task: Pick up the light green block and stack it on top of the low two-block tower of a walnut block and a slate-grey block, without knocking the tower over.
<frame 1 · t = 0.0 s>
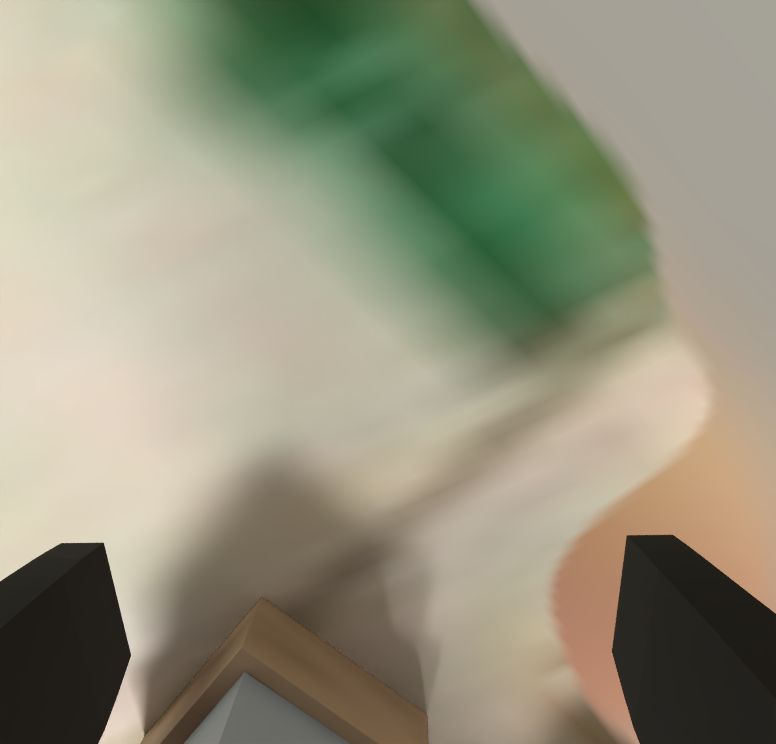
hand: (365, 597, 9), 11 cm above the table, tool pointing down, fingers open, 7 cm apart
walnut base block: (286, 718, 22), on the table, touching slate-grey block
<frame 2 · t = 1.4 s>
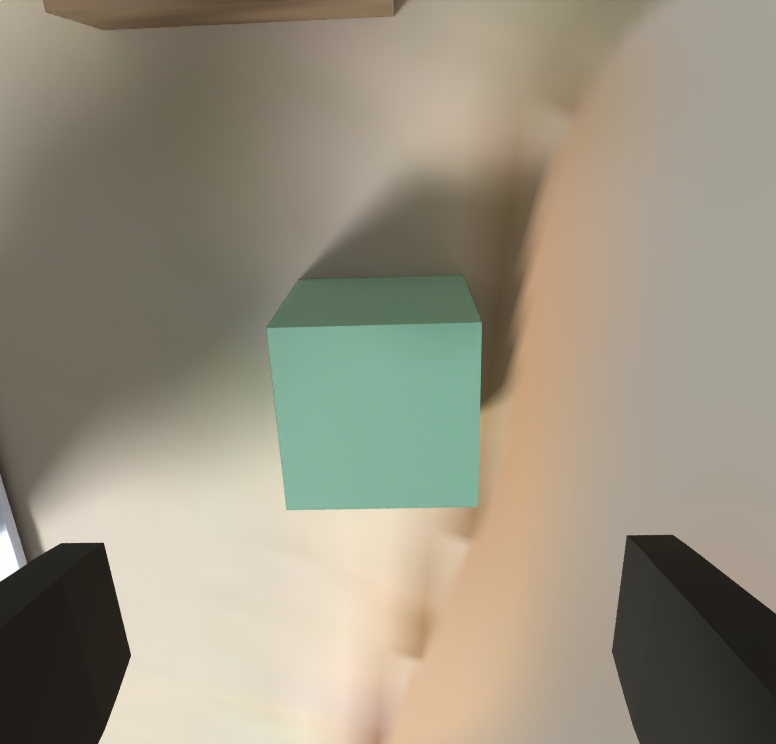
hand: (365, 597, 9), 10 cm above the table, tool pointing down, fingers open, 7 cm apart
light green block: (383, 353, 18), on the table
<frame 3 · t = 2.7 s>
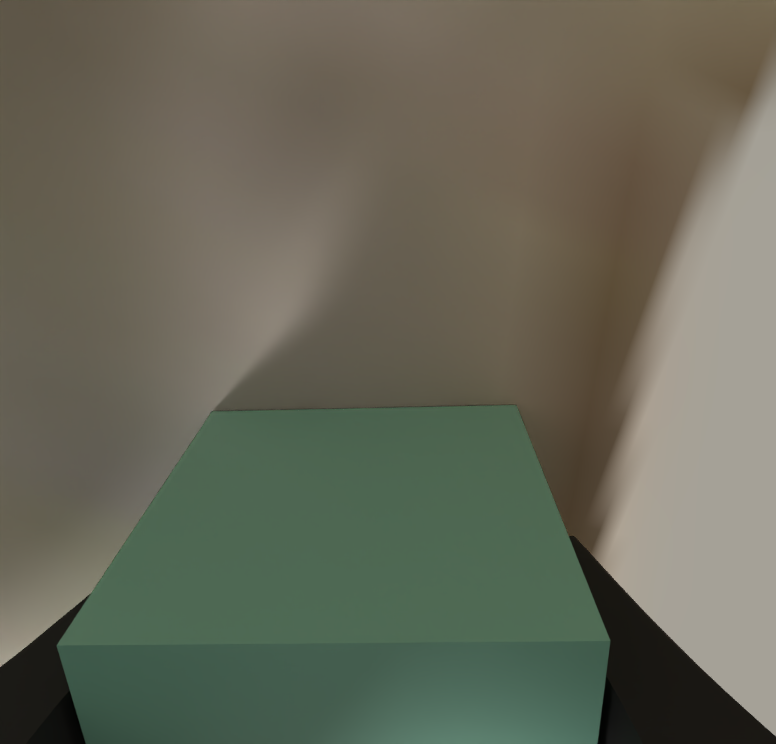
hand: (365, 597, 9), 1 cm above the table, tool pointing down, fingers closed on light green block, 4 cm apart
light green block: (369, 535, 10), on the table, touching gripper
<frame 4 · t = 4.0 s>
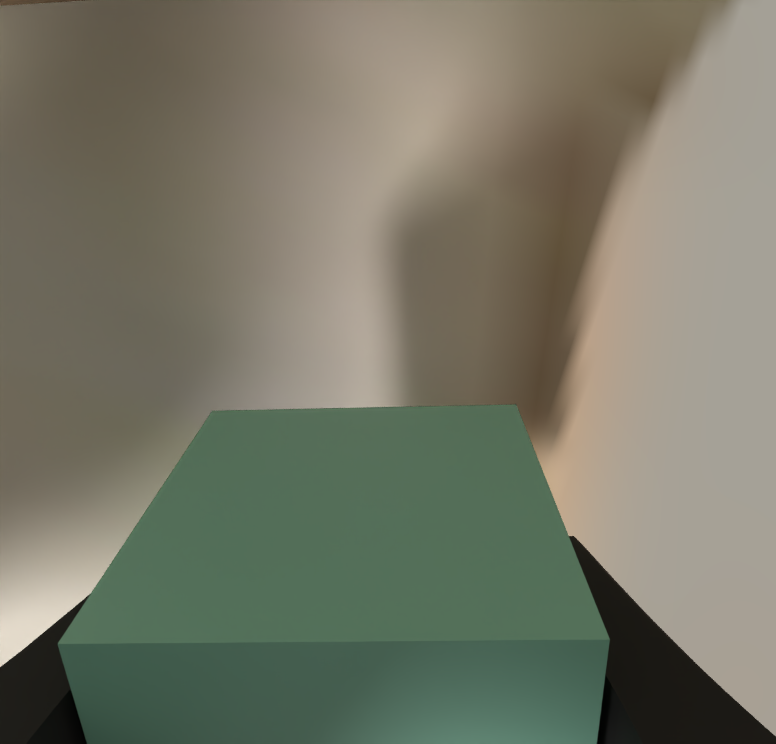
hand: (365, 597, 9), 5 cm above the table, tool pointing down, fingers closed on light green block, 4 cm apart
light green block: (369, 534, 10), point 3 cm above the table, touching gripper
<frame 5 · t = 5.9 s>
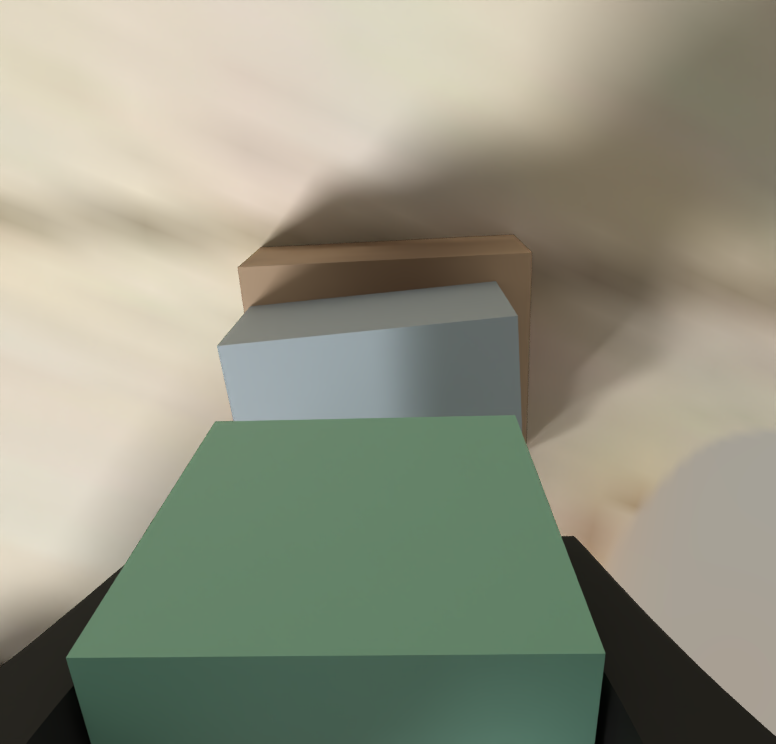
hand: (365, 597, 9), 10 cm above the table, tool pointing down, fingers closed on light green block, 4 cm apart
walnut base block: (392, 355, 19), on the table, touching slate-grey block
light green block: (370, 542, 10), point 9 cm above the table, touching gripper
slate-grey block: (385, 405, 16), point 3 cm above the table, touching walnut base block
when the fingers open (8 cm above the table, at t = 6.8 s): light green block drops 1 cm, resting on slate-grey block.
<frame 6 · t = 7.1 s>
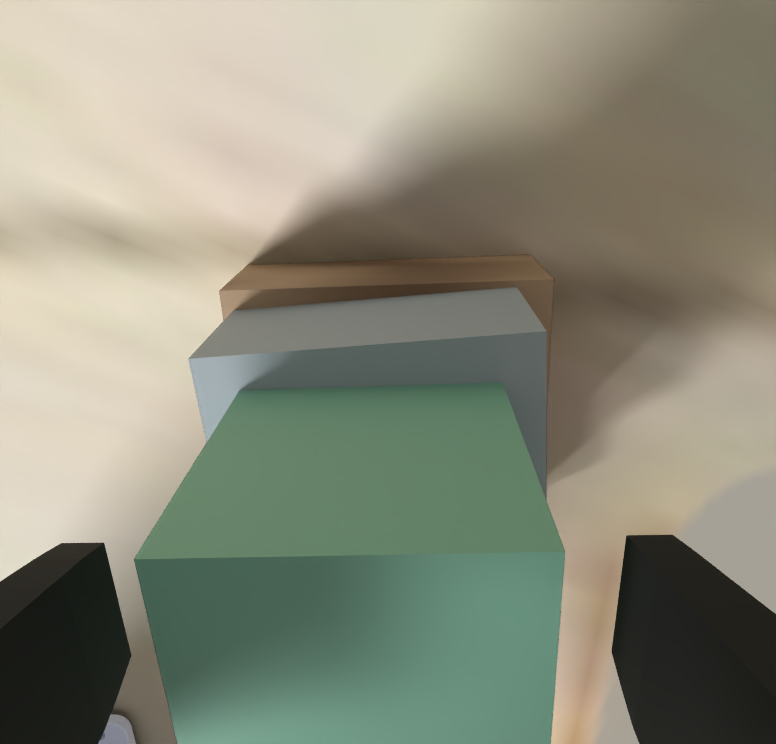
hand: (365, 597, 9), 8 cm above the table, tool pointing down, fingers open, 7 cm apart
walnut base block: (393, 383, 17), on the table, touching slate-grey block
light green block: (376, 498, 12), point 6 cm above the table, touching slate-grey block
slate-grey block: (386, 426, 14), point 3 cm above the table, touching light green block, walnut base block
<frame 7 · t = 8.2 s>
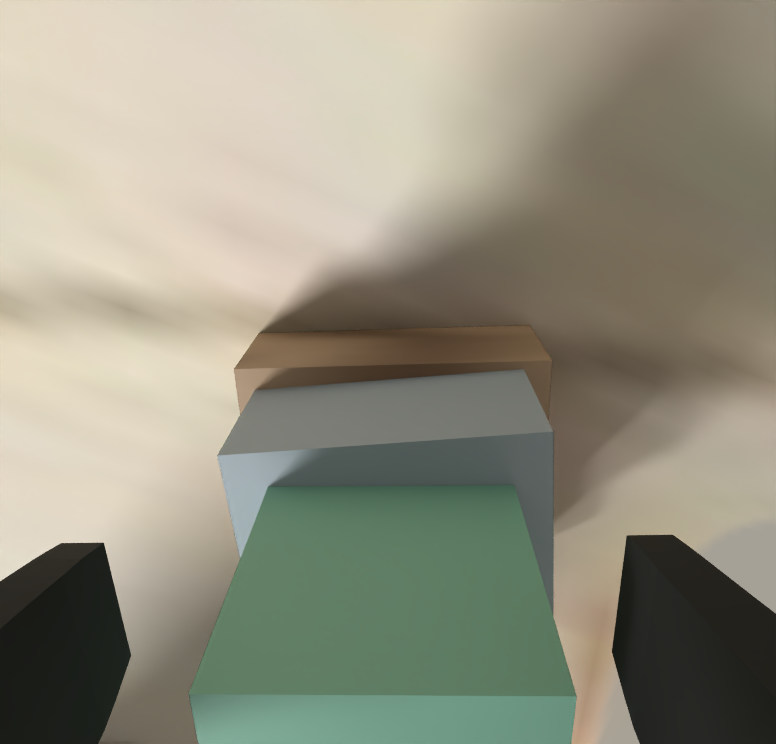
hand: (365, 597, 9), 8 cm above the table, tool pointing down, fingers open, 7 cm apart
walnut base block: (398, 441, 18), on the table, touching slate-grey block
light green block: (393, 584, 12), point 6 cm above the table, touching slate-grey block
slate-grey block: (399, 495, 15), point 3 cm above the table, touching light green block, walnut base block
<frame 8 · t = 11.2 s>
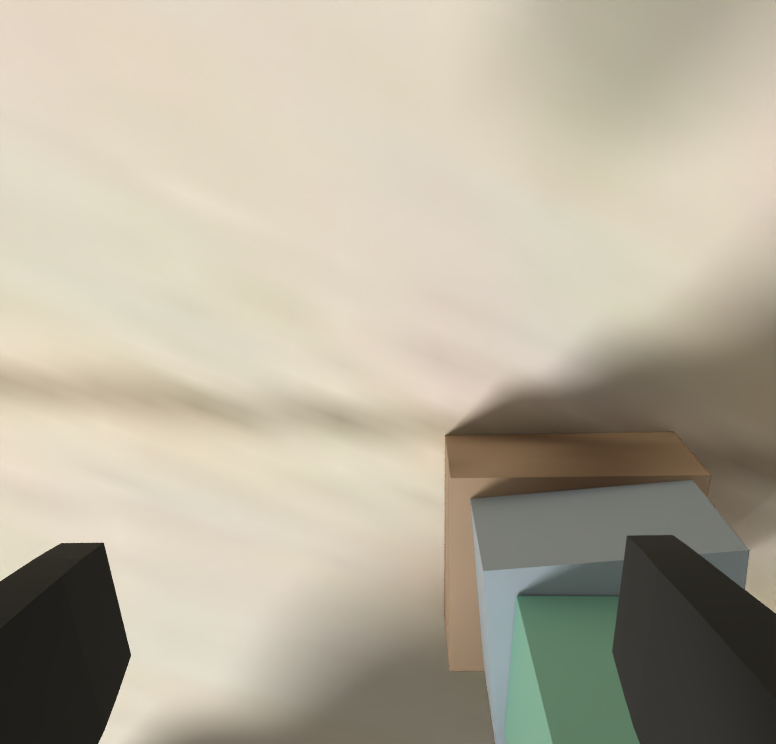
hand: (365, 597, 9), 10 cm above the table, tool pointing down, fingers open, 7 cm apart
walnut base block: (548, 520, 21), on the table, touching slate-grey block
light green block: (601, 668, 16), point 6 cm above the table, touching slate-grey block
slate-grey block: (580, 577, 18), point 2 cm above the table, touching light green block, walnut base block
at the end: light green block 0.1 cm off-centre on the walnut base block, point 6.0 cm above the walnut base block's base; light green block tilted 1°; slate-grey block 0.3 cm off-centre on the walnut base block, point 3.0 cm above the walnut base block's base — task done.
